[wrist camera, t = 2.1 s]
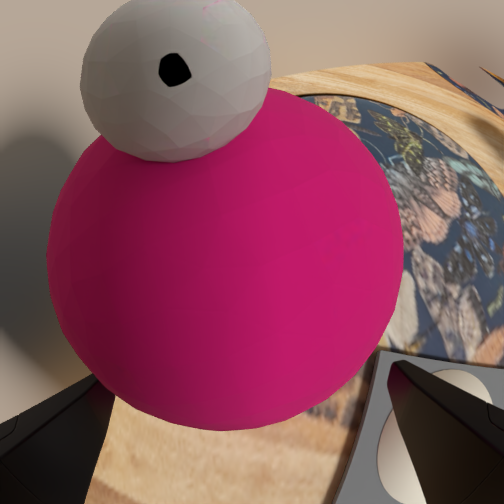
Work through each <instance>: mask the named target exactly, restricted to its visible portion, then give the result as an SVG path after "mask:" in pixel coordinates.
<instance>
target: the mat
mask: <svg viewBox="0 0 504 504" xmlns="http://www.w3.org/2000/svg"><path fill="white" fill-rule="evenodd" d="M398 360H407V361H409V362H410V363H412V364H414V365H416V366H418V367H420V368H422V369H424V370H426V371H428V372H429V373H431V374H433V375H435V376H437V377H439V378H441V379H443V380H445V381H447V382H449V383H451V384H453V385H455V386H457V387H459V388H460V389H462V390H464V391H466V392H468V393H470V394H472V395H474V396H476V397H478V398H480V399H482V400H484V401H486V403H487V402H488V403H490V404H492V405H494V406H496V407H499V408H501V409H503V410H504V369H496V368H488V367H479V366H472V365H464V364H457V363H451V362H444V361H438V360H432V359H426V358H420V357H415V356H409V355H404V354H398V353H393V352H388V351H383V350H380V351H378V352H377V355H376V360H375V365H374V370H373V374H372V379H371V383H370V387H369V392H368V396H367V400H366V404H365V407H364V411H363V415H362V418H361V422H360V425H359V429H358V432H357V435H356V439H355V442H354V445H353V448H352V451H351V454H350V457H349V460H348V463H347V466H346V468H345V471H344V474H343V477H342V479H341V482H340V484H339V487H338V489H337V492H336V494H335V497H334V499H333V502H332V504H426V501H425V498H424V495H423V492H422V489H421V486H420V483H419V480H418V478H417V475H416V472H415V469H414V467H413V464H412V461H411V458H410V456H409V453H408V451H407V448H406V445H405V443H404V440H403V438H402V435H401V433H400V430H399V427H398V424H397V421H396V417H395V414H394V410H393V406H392V403H391V399H390V396H389V392H388V389H387V379H388V375H389V371H390V367H391V364H392V363H393V362H394V361H398Z"/></svg>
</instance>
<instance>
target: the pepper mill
mask: <svg viewBox="0 0 504 504" xmlns="http://www.w3.org/2000/svg"><path fill="white" fill-rule="evenodd" d="M271 75H272V74H271V61H270V49H269V46H268V44H267V41H266V38H265V35H264V32H263V31H262V30H261V28H260V27H259V25H258V24H257V22H256V21H255V19H254V18H253V16H252V15H251V14H250V13H249V12H248V11H246V10H245V9H244V8H243V7H242V6H240V5H239V4H238V3H237V2H236V1H234V0H131V1H129V2H127V3H125V4H124V5H122V6H121V7H120V8H118V9H117V10H116V11H115V12H113V13H112V14H111V15H110V16H109V17H108V18H107V19H106V20H105V21H104V22H103V24H102V25H101V26H100V28H99V29H98V30H97V31H96V33H95V34H94V35H93V37H92V39H91V42H90V44H89V46H88V48H87V51H86V53H85V56H84V58H83V65H82V73H81V81H80V90H81V95H82V99H83V103H84V107H85V110H86V112H87V114H88V116H89V118H90V120H91V122H92V124H93V125H94V127H95V129H96V130H97V131H98V132H99V133H100V134H101V135H100V136H99V137H98V138H97V139H96V140H95V141H94V142H93V143H92V144H91V145H90V146H89V147H88V148H87V149H86V150H85V151H84V152H83V154H82V155H81V157H80V158H79V160H78V162H77V163H76V165H75V167H74V169H73V170H72V172H71V173H70V175H69V177H68V179H67V180H66V183H65V184H64V186H63V188H62V189H61V192H60V195H59V197H58V200H57V203H56V205H55V209H54V211H53V215H52V221H51V227H50V232H49V239H48V246H47V253H46V257H47V270H48V281H49V289H50V296H51V299H52V303H53V306H54V309H55V312H56V315H57V318H58V321H59V324H60V326H61V329H62V332H63V334H64V335H65V337H66V338H67V340H68V341H69V343H70V345H71V346H72V348H73V349H74V350H75V352H76V354H77V355H78V356H79V358H80V359H81V360H82V361H83V363H84V364H85V365H86V366H87V367H88V368H89V370H90V371H91V372H92V373H93V374H94V375H95V376H96V378H97V379H98V380H99V381H100V382H101V383H102V384H103V385H104V386H105V387H106V388H107V389H108V390H109V391H111V392H112V393H114V394H115V395H116V396H118V397H119V398H121V399H122V400H123V401H125V402H126V403H128V404H129V405H131V406H132V407H134V408H135V409H137V410H140V411H142V412H144V413H147V414H149V415H152V416H154V417H157V418H160V419H162V420H165V421H167V422H170V423H173V424H178V425H183V426H187V427H192V428H198V429H203V430H213V431H231V430H243V429H253V428H259V427H263V426H267V425H271V424H274V423H278V422H282V421H285V420H287V419H289V418H292V417H294V416H296V415H298V414H300V413H302V412H304V411H306V410H307V409H309V408H311V407H313V406H315V405H317V404H319V403H321V402H323V401H324V400H326V399H327V398H329V397H330V396H331V395H332V394H333V393H335V392H336V391H337V390H338V389H339V388H341V387H342V386H343V385H344V384H345V383H346V382H348V381H349V380H350V379H351V378H352V377H353V376H354V375H355V374H356V373H357V372H358V370H359V369H360V368H361V367H362V365H363V364H364V363H365V361H366V360H367V359H368V357H369V356H370V355H371V353H372V352H373V351H374V349H375V348H376V346H377V344H378V343H379V341H380V339H381V337H382V335H383V333H384V331H385V329H386V327H387V325H388V323H389V321H390V319H391V317H392V315H393V312H394V310H395V306H396V301H397V297H398V292H399V288H400V283H401V278H402V272H403V235H402V228H401V221H400V216H399V211H398V206H397V203H396V201H395V198H394V196H393V193H392V191H391V188H390V186H389V184H388V181H387V179H386V177H385V174H384V172H383V170H382V169H381V167H380V166H379V164H378V163H377V161H376V160H375V158H374V157H373V155H372V154H371V153H370V151H369V150H368V149H367V148H366V147H365V146H364V144H363V143H362V142H361V141H360V140H359V139H358V138H357V137H356V136H355V135H354V134H353V133H352V132H351V131H350V130H349V129H348V128H347V127H346V126H345V125H344V124H343V123H342V122H341V121H340V120H339V119H337V118H336V117H334V116H333V115H331V114H330V113H328V112H327V111H325V110H324V109H322V108H321V107H319V106H317V105H315V104H312V103H310V102H308V101H306V100H304V99H301V98H299V97H297V96H294V95H292V94H290V93H287V92H285V91H281V90H277V89H272V88H268V87H269V83H270V79H271Z"/></svg>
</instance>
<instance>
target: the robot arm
mask: <svg viewBox="0 0 504 504" xmlns="http://www.w3.org/2000/svg"><path fill="white" fill-rule="evenodd" d="M387 389H388V392H389V396H390V399H391V403H392V406H393V410H394V414H395V417H396V421H397V424H398V427H399V430H400V433H401V435H402V438H403V440H404V443H405V445H406V448H407V451H408V453H409V456H410V458H411V461H412V464H413V467H414V469H415V472H416V475H417V478H418V480H419V483H420V486H421V489H422V492H423V495H424V498H425V501H426V504H504V410H503V409H501V408H499V407H496V406H494V405H492V404H490V403H488V402H487V403H486V401H484V400H482V399H480V398H478V397H476V396H474V395H472V394H470V393H468V392H466V391H464V390H462V389H460V388H459V387H457V386H455V385H453V384H451V383H449V382H447V381H445V380H443V379H441V378H439V377H437V376H435V375H433V374H431V373H429V372H428V371H426V370H424V369H422V368H420V367H418V366H416V365H414V364H412V363H410V362H409V361H407V360H398V361H394V362H393V363H392V364H391V367H390V371H389V375H388V379H387ZM114 401H115V394H114V393H112V392H111V391H109V390H108V389H107V388H106V387H105V386H104V385H103V384H102V383H101V382H100V381H99V380H98V379H97V378H96V376H95V375H94V374H93V373H92V374H91V375H89V376H87V377H85V378H84V379H82V380H80V381H78V382H77V383H75V384H73V385H71V386H69V387H68V388H66V389H64V390H62V391H61V392H59V393H57V394H55V395H53V396H52V397H50V398H48V399H46V400H44V401H43V402H41V403H39V404H37V405H35V406H33V407H31V408H30V409H28V410H26V411H24V412H22V413H20V414H19V415H17V416H15V417H13V418H11V419H9V420H7V421H5V422H3V423H1V424H0V504H84V503H85V499H86V496H87V492H88V489H89V486H90V482H91V479H92V476H93V473H94V470H95V466H96V463H97V460H98V457H99V454H100V451H101V448H102V445H103V443H104V440H105V437H106V433H107V430H108V425H109V421H110V417H111V413H112V409H113V405H114Z"/></svg>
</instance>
